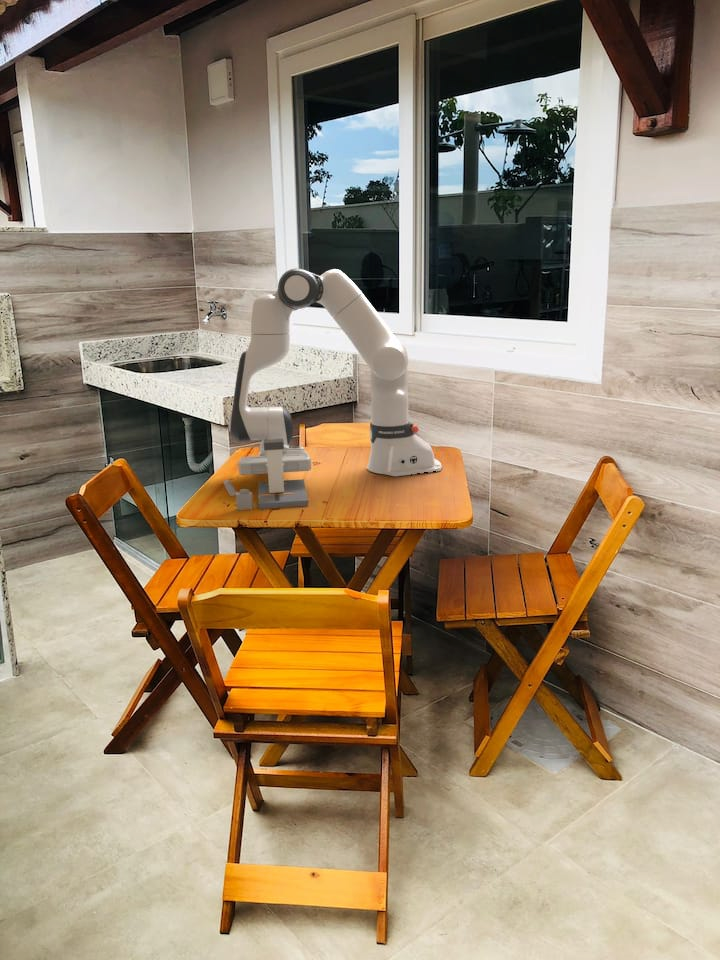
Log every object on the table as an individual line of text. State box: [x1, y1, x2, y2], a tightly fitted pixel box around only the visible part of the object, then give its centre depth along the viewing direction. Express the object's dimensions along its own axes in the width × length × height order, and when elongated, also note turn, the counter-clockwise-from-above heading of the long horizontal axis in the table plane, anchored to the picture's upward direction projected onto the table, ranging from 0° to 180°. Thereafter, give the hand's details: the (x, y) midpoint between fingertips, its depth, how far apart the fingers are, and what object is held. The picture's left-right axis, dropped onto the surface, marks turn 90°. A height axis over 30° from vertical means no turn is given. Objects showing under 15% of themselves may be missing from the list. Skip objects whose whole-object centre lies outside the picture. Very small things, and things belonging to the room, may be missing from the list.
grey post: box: [264, 439, 284, 493], centre depth 213 cm, size 5×4×14 cm
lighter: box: [222, 479, 254, 511], centre depth 206 cm, size 7×2×8 cm, turn 92°
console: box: [257, 478, 309, 510], centre depth 216 cm, size 13×20×2 cm, turn 7°
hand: (275, 471), depth 215 cm, fingers closed, pressing on grey post
